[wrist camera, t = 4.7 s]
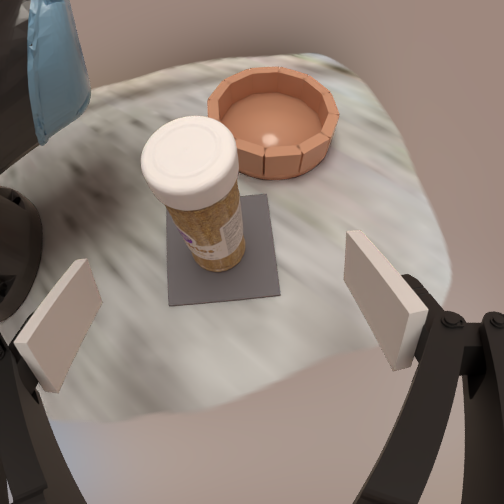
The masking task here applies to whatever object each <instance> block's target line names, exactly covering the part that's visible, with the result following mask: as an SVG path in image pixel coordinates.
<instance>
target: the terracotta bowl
mask: <svg viewBox="0 0 504 504" xmlns="http://www.w3.org/2000/svg"><path fill="white" fill-rule="evenodd" d="M207 104H208V118H212V119H215V120H217V121H219V122H221V123H222V124H224V125H225V126H226V127H227V128H228V129H229V130H230V132H231V133H232V134H233V137H234V139H235V141H236V146H237V153H238V162H239V172H241V173H243V174H245V175H248V176H251V177H254V178H259V179H267V180H282V179H289V178H293V177H297V176H300V175H302V174H305V173H306V172H308V171H310V170H312V169H313V168H314V167H316V166H317V165H318V164H319V163H320V162H321V161H322V160H323V158H324V157H325V155H326V153H327V151H328V149H329V145H330V143H331V140H332V138H333V135H334V132H335V129H336V125H337V122H338V119H339V112H338V109H337V107H336V104H335V101H334V99H333V96H332V94H331V93H330V91H329V90H328V89H326V88H325V87H324V86H323V85H321V84H320V83H319V82H317V81H316V80H315V79H314V78H312V77H311V76H308V75H307V74H304V73H301V72H297V71H294V70H290V69H287V68H283V67H280V69H279V67H261V68H250V70H249V69H246V70H244V71H242V72H239V73H237V74H235V75H233V76H231V77H228V78H226V79H224V81H222V82H221V83H220V84H219V86H218V87H217V88H216V89H215V91H214V92H213V93H212V94H211V96H210V97H209V98H208V101H207Z"/></svg>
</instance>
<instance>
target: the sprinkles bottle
mask: <svg viewBox="0 0 504 504" xmlns="http://www.w3.org/2000/svg"><path fill="white" fill-rule="evenodd" d="M141 169H142V173H143V175H144V177H145V180H146V182H147V184H148V185H149V187H150V189H151V190H152V192H153V194H154V195H155V196H156V198H157V199H158V200H159V201H161V202H162V203H163V204H164V205H165V206H166V208H167V210H168V212H169V213H170V215H171V217H172V220H173V222H174V224H175V225H176V227H177V229H178V230H179V232H180V234H181V235H182V237H183V239H184V241H185V243H186V245H187V246H188V248H189V249H190V250H191V252H192V255H193V258H194V259H195V261H196V262H197V263H198V264H199V265H200V266H201V267H202V268H204V269H206V270H208V271H214V272H221V271H226V270H228V269H230V268H232V267H234V266H235V265H236V264H237V263H239V262H240V260H241V258H242V256H243V255H244V252H245V239H244V235H243V222H242V212H241V203H240V194H239V190H238V185H237V177H238V171H239V162H238V153H237V146H236V141H235V139H234V137H233V134H232V133H231V132H230V130H229V129H228V128H227V127H226V126H225V125H224V124H222V123H221V122H219V121H217V120H215V119H212V118H208V117H204V116H187V117H182V118H179V119H175V120H173V121H171V122H169V123H167V124H165V125H163V126H162V127H160V128H159V129H158V130H157V131H156V132H155V133H153V135H152V136H151V137H150V138H149V139H148V141H147V142H146V144H145V146H144V149H143V151H142V155H141Z"/></svg>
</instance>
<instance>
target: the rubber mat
mask: <svg viewBox="0 0 504 504" xmlns="http://www.w3.org/2000/svg"><path fill="white" fill-rule="evenodd" d="M240 203H241V212H242V222H243V235H244V239H245V252H244V255H243V256H242V258H241V260H240V262H239V263H237V264H236V265H235V266H234V267H232V268H230V269H228V270H226V271H221V272H214V271H208V270H206V269H204V268H202V267H201V266H200V265H199V264H198V263H197V262H196V261H195V259H194V258H193V255H192V252H191V250H190V249H189V248H188V246H187V245H186V243H185V241H184V239H183V237H182V235H181V234H180V232H179V230H178V229H177V227H176V225H175V224H174V222H173V220H172V217H171V215H170V213H169V212H168V210H167V278H168V301H169V306H177V305H189V304H201V303H212V302H222V301H233V300H242V299H252V298H261V297H270V296H279V295H280V287H279V279H278V272H277V264H276V257H275V249H274V242H273V235H272V228H271V221H270V213H269V206H268V200H267V194H259V195H249V196H240Z"/></svg>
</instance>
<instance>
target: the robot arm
mask: <svg viewBox="0 0 504 504" xmlns="http://www.w3.org/2000/svg"><path fill="white" fill-rule="evenodd" d="M90 98H91V87H90V82H89V77H88V73H87V69H86V65H85V61H84V57H83V53H82V49H81V45H80V42H79V38H78V34H77V30H76V26H75V22H74V17H73V14H72V10H71V5H70V1H69V0H0V174H2V173H3V172H4V171H5V170H7V169H8V168H9V167H10V166H12V165H13V164H14V163H16V162H17V161H18V160H20V159H21V158H22V157H24V156H25V155H26V154H28V153H29V152H30V151H32V150H33V149H35V148H36V147H37V146H39V145H41V146H43V145H45V144H46V143H47V142H48V139H49V138H50V137H51V136H53V135H54V134H55V133H57V132H58V131H60V130H61V129H62V128H64V127H65V126H67V125H68V124H70V123H71V122H73V121H74V120H76V119H77V118H78V117H80V116H81V115H82V114H83V113H84V111H85V110H86V108H87V106H88V104H89V101H90ZM41 249H42V226H41V221H40V217H39V214H38V212H37V210H36V208H35V206H34V205H33V204H32V203H31V202H30V201H29V200H28V199H27V198H26V197H24V196H23V195H22V194H21V193H19V192H18V191H16V190H14V189H11V188H7V187H3V186H0V321H2V320H4V319H6V318H8V317H9V316H10V315H12V314H13V313H14V312H15V311H16V310H17V309H18V307H19V306H20V305H21V304H22V302H23V301H24V299H25V297H26V296H27V294H28V292H29V290H30V288H31V286H32V283H33V281H34V278H35V276H36V272H37V269H38V266H39V261H40V256H41ZM344 281H345V283H346V285H347V287H348V288H349V290H350V292H351V294H352V295H353V297H354V299H355V301H356V303H357V304H358V306H359V308H360V310H361V312H362V313H363V315H364V317H365V319H366V321H367V323H368V324H369V326H370V328H371V330H372V332H373V334H374V336H375V337H376V339H377V341H378V343H379V345H380V347H381V349H382V351H383V352H384V355H385V356H386V358H387V360H388V362H389V364H390V366H391V368H392V370H393V371H397V370H401V369H405V368H408V367H410V366H411V364H412V361H413V358H414V356H415V357H416V359H417V361H418V362H419V364H418V367H417V370H416V372H415V375H414V377H413V380H412V383H411V386H410V389H409V391H408V394H407V396H406V399H405V401H404V404H403V406H402V409H401V411H400V413H399V416H398V418H397V420H396V422H395V425H394V427H393V429H392V431H391V433H390V436H389V438H388V440H387V442H386V444H385V446H384V448H383V450H382V452H381V454H380V456H379V458H378V460H377V462H376V464H375V465H374V467H373V469H372V471H371V473H370V475H369V477H368V478H367V480H366V482H365V484H364V485H363V487H362V489H361V490H360V492H359V494H358V495H357V497H356V499H355V500H354V502H353V504H418V502H419V500H420V497H421V495H422V493H423V490H424V488H425V486H426V483H427V480H428V478H429V475H430V473H431V471H432V468H433V465H434V463H435V460H436V457H437V454H438V451H439V448H440V445H441V442H442V439H443V436H444V432H445V429H446V426H447V422H448V419H449V415H450V412H451V408H452V404H453V400H454V396H455V391H456V387H457V382H458V378H459V376H461V375H462V381H463V394H464V413H465V460H464V461H465V462H464V478H463V491H462V501H461V504H504V314H501V313H499V312H488V313H486V314H485V315H484V317H483V319H482V322H481V323H466V321H465V320H464V318H463V317H462V316H460V315H459V314H457V313H454V312H451V311H444V310H443V309H442V307H441V306H440V305H439V304H438V303H437V301H436V300H435V299H434V298H433V297H432V296H431V294H429V293H428V291H427V290H426V289H425V288H424V286H423V285H422V284H421V283H420V282H419V281H418V280H417V279H416V278H414V277H412V276H411V275H409V274H405V275H400V274H399V273H398V272H397V270H396V269H395V268H394V267H393V266H392V265H391V263H390V262H389V261H388V260H387V259H386V258H385V257H384V255H383V254H382V253H381V252H380V251H379V250H378V249H377V247H376V246H375V245H374V244H373V243H372V242H371V241H370V240H369V239H368V237H367V236H366V235H365V234H364V233H363V232H362V231H361V230H356V231H346V250H345V267H344ZM102 303H103V302H102V299H101V296H100V294H99V291H98V288H97V285H96V283H95V280H94V277H93V274H92V271H91V268H90V265H89V262H88V259H78V260H75V261H74V262H73V264H72V265H71V266H70V267H69V268H68V270H67V271H66V272H65V273H64V274H63V276H62V277H61V278H60V279H59V281H58V282H57V283H56V285H55V286H54V287H53V288H52V290H51V291H50V292H49V293H48V295H47V296H46V297H45V299H44V300H43V301H42V303H41V304H40V305H39V307H38V308H37V309H36V311H34V312H33V313H32V314H31V315H30V316H29V317H28V318H27V320H26V321H25V322H24V324H23V325H22V327H21V328H20V329H21V330H19V331H18V332H17V334H16V335H15V337H14V338H13V340H12V341H11V343H10V344H9V346H8V345H7V344H6V342H5V340H4V338H3V337H2V335H1V333H0V504H9V499H8V490H7V481H8V484H9V488H10V490H11V494H12V497H13V503H11V504H87V503H86V501H85V499H84V497H83V496H82V494H81V492H80V490H79V488H78V486H77V484H76V482H75V480H74V478H73V476H72V474H71V472H70V470H69V468H68V466H67V464H66V462H65V460H64V457H63V455H62V453H61V451H60V448H59V446H58V444H57V441H56V439H55V436H54V434H53V431H52V429H51V426H50V423H49V421H48V418H47V415H46V412H45V409H44V406H43V403H42V400H41V397H40V394H39V392H38V391H37V389H36V386H37V384H38V382H39V384H40V385H41V386H42V388H43V389H44V391H45V392H53V393H59V391H60V388H61V386H62V384H63V382H64V379H65V377H66V375H67V373H68V371H69V368H70V366H71V364H72V362H73V360H74V358H75V356H76V354H77V352H78V350H79V347H80V345H81V343H82V341H83V339H84V337H85V335H86V333H87V331H88V329H89V328H90V326H91V324H92V322H93V320H94V318H95V316H96V314H97V312H98V310H99V308H100V307H101V305H102ZM6 478H7V479H6Z"/></svg>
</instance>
